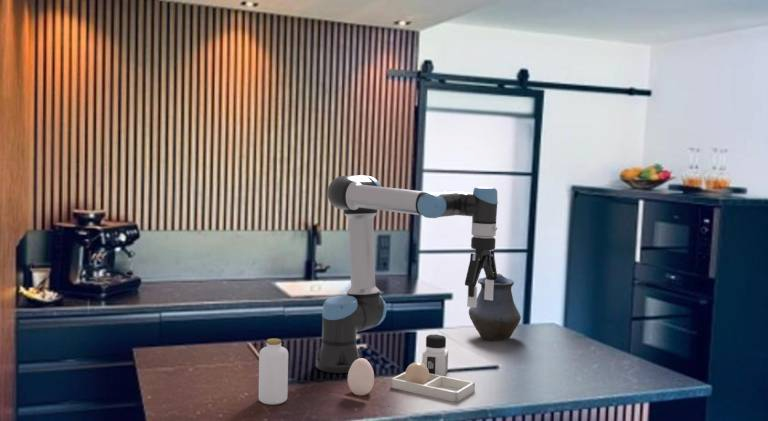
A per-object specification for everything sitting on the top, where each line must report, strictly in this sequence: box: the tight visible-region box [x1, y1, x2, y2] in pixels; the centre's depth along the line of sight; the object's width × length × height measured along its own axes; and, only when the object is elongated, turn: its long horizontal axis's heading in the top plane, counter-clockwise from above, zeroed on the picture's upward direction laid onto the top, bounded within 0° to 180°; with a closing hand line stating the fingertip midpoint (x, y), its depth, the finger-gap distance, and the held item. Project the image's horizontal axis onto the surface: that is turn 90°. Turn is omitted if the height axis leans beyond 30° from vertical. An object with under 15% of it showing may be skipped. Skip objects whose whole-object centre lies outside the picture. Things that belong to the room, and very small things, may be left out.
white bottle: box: [258, 338, 289, 406], centre depth 213 cm, size 8×8×18 cm
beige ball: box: [405, 361, 429, 385], centre depth 228 cm, size 7×7×7 cm
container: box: [421, 333, 449, 377], centre depth 244 cm, size 8×8×13 cm
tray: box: [390, 371, 476, 403], centre depth 225 cm, size 23×12×4 cm, turn 59°
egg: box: [347, 357, 375, 396], centre depth 220 cm, size 8×8×11 cm
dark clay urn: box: [468, 273, 522, 341], centre depth 293 cm, size 21×22×25 cm
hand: (480, 303), depth 231 cm, fingers open, 13 cm apart
